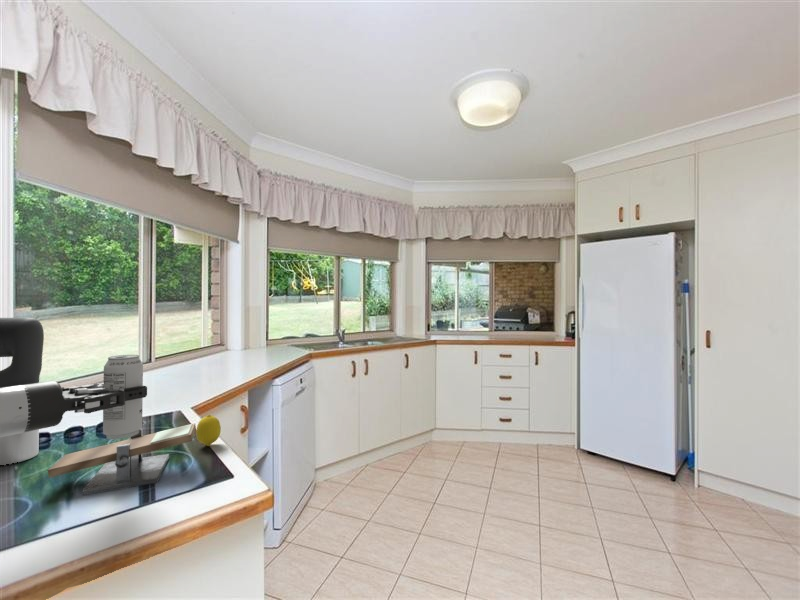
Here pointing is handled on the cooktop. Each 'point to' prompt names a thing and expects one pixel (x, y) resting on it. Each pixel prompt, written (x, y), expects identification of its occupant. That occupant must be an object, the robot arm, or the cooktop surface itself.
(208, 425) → the lemon
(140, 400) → the energy drink can
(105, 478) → the beam stand
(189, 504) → the cooktop surface
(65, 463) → the beam
